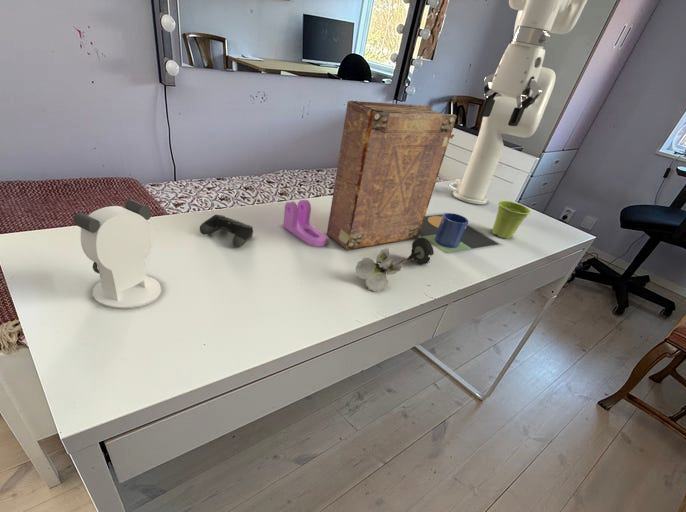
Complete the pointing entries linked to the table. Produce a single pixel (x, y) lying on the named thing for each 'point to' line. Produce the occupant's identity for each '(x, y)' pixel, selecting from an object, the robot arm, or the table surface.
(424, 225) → the desk mat
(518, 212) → the plant pot
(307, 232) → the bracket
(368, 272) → the artificial flower
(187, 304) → the table surface
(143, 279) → the white rounded piece
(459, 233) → the blue cup
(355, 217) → the book
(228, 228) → the gaming controller
